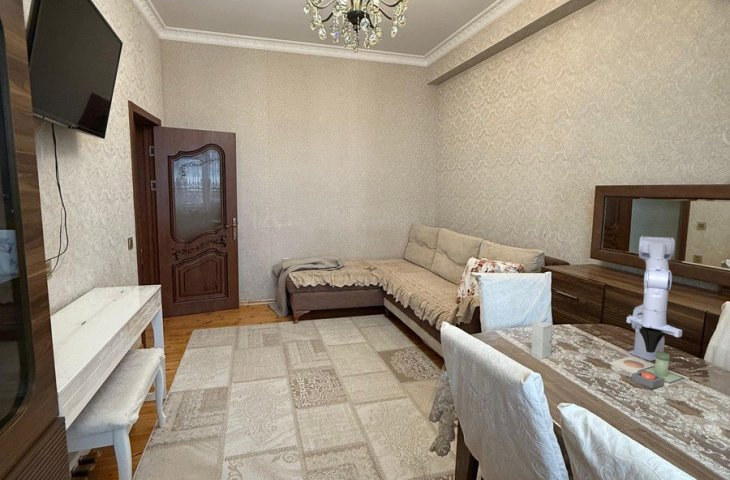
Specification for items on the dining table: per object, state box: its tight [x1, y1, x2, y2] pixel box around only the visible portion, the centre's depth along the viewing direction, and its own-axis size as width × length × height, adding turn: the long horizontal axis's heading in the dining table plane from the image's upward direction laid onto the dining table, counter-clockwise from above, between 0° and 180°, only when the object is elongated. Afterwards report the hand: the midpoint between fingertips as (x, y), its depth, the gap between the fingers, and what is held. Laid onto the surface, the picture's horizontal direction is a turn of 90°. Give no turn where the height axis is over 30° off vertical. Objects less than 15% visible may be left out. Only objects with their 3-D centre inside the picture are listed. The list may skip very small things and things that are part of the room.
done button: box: [641, 371, 656, 380], centre depth 120 cm, size 4×4×2 cm
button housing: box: [631, 370, 665, 391], centre depth 120 cm, size 6×6×2 cm
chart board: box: [609, 356, 690, 388], centre depth 129 cm, size 12×18×1 cm, turn 25°
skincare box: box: [531, 320, 553, 360], centre depth 140 cm, size 6×4×12 cm
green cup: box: [654, 351, 671, 377], centre depth 125 cm, size 4×4×7 cm
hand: (650, 351), depth 119 cm, fingers closed
